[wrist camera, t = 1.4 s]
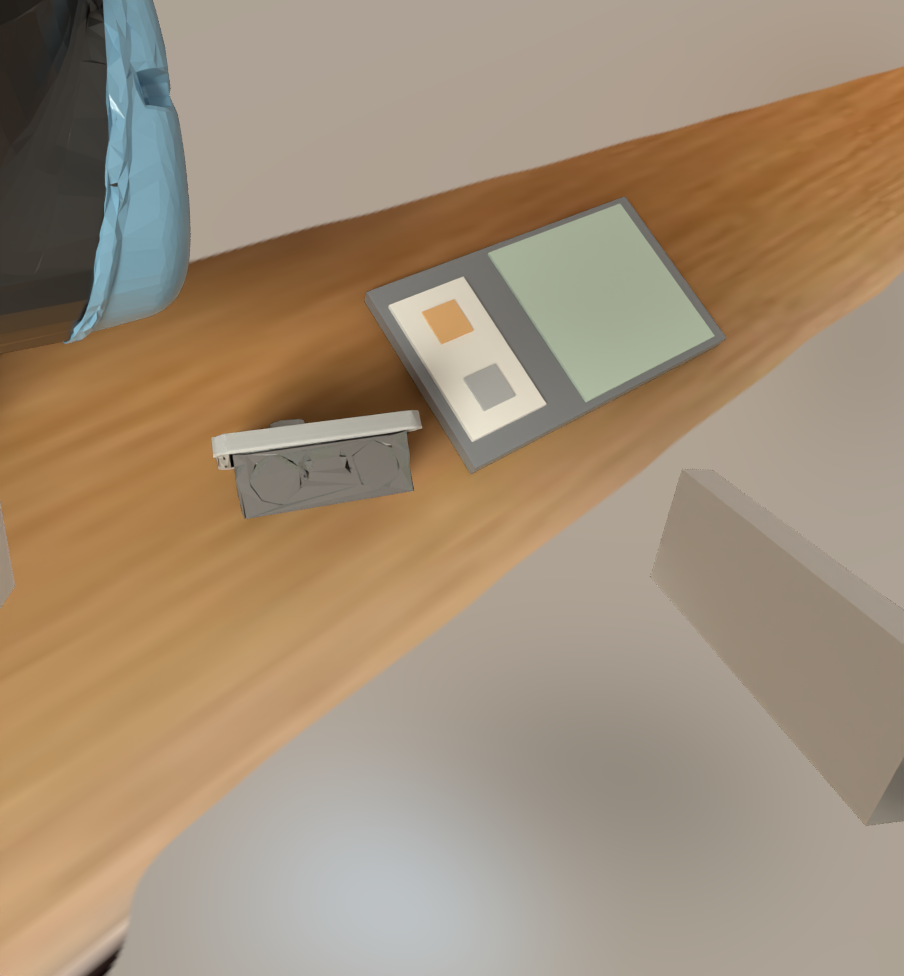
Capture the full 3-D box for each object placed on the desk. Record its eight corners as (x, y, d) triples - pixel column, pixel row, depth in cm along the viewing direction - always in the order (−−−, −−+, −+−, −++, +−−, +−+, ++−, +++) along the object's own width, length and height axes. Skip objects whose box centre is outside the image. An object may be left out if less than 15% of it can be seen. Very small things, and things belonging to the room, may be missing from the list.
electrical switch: (382, 434, 40) (415, 373, 31) (399, 518, 39) (438, 480, 30) (216, 457, 37) (201, 397, 28) (232, 548, 36) (220, 516, 27)
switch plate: (471, 474, 40) (477, 465, 39) (364, 301, 42) (367, 287, 41) (718, 345, 48) (730, 334, 47) (618, 206, 50) (627, 192, 49)
